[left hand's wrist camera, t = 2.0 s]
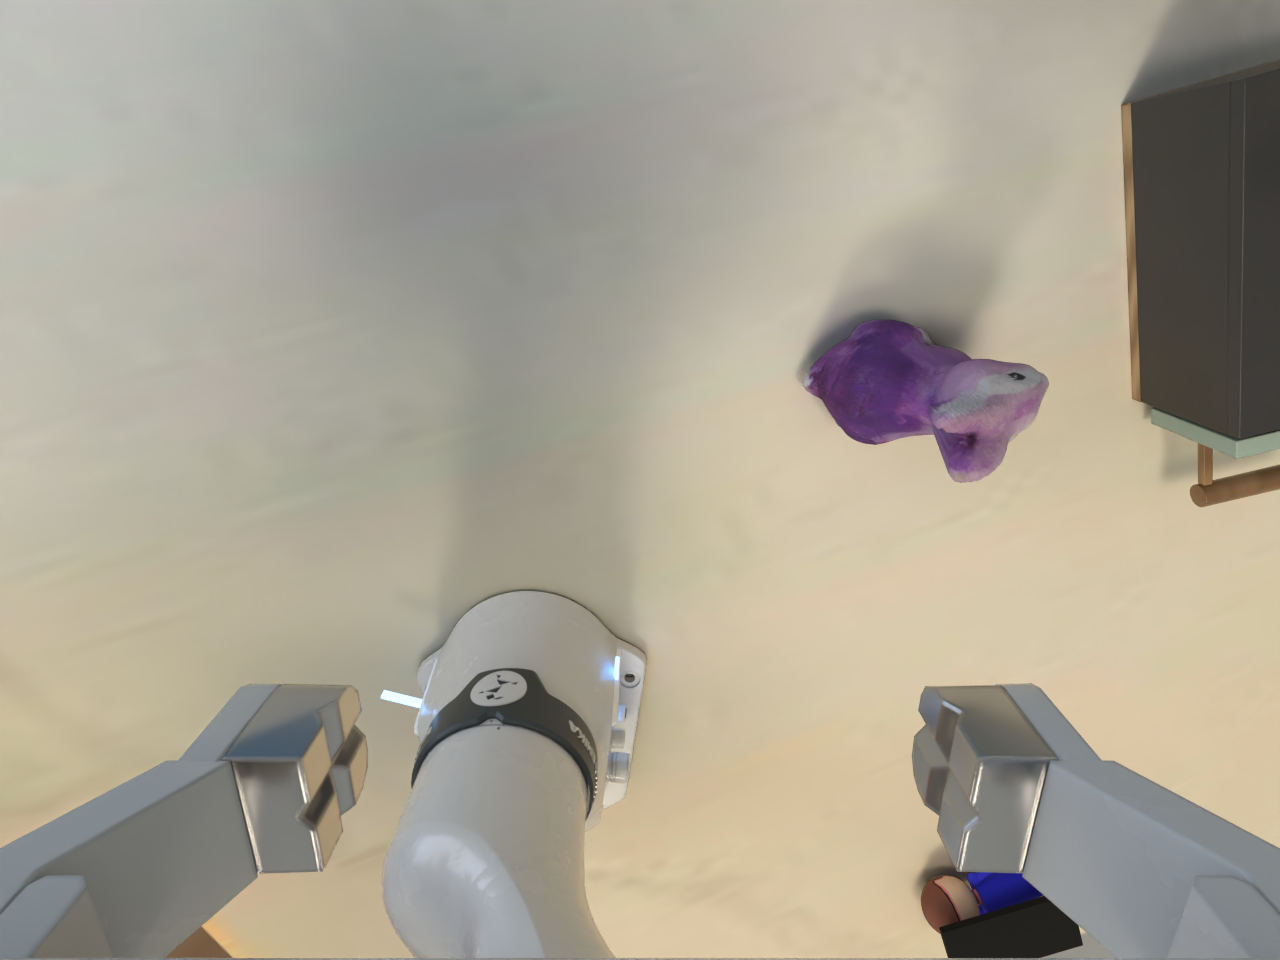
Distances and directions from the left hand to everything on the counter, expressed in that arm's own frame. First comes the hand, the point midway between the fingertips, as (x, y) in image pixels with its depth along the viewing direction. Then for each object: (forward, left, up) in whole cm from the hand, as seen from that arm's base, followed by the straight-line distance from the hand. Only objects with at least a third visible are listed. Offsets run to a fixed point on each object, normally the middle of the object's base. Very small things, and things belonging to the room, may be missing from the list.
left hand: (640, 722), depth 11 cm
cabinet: (+3, -38, -43) cm, 57 cm away
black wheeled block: (-52, -30, -43) cm, 74 cm away
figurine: (-5, -17, -43) cm, 46 cm away
